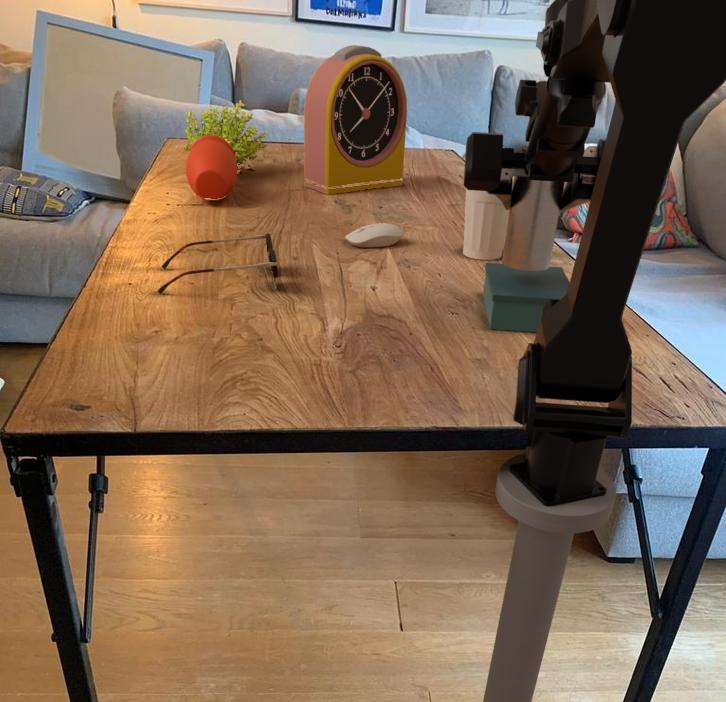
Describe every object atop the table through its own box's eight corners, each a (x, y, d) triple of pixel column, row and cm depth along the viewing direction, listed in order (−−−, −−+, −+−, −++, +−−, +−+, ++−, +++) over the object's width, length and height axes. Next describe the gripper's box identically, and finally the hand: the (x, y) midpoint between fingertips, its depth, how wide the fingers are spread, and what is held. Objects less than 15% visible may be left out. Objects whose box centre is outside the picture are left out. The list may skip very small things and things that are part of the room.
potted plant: (273, 236, 143) (267, 160, 177) (274, 161, 134) (267, 96, 167) (173, 233, 141) (186, 157, 174) (166, 156, 131) (181, 91, 165)
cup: (467, 262, 115) (477, 181, 108) (451, 247, 121) (459, 170, 115) (514, 260, 117) (526, 181, 110) (495, 246, 123) (506, 170, 117)
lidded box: (575, 335, 91) (582, 300, 88) (488, 329, 91) (493, 294, 89) (558, 299, 102) (564, 267, 99) (481, 294, 102) (485, 262, 100)
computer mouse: (340, 239, 123) (341, 221, 121) (394, 236, 126) (395, 218, 124) (353, 249, 118) (354, 230, 116) (408, 245, 121) (410, 227, 120)
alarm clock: (327, 194, 151) (329, 46, 137) (302, 186, 157) (302, 43, 142) (403, 184, 162) (412, 47, 148) (377, 177, 168) (384, 44, 154)
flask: (530, 274, 89) (550, 155, 82) (492, 262, 93) (508, 147, 86) (558, 266, 93) (580, 151, 85) (521, 255, 96) (539, 143, 89)
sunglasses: (280, 295, 99) (276, 258, 96) (158, 304, 96) (151, 267, 94) (272, 264, 110) (269, 230, 107) (163, 272, 108) (157, 238, 105)
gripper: (655, 58, 76) (609, 155, 92) (477, 49, 77) (461, 146, 92) (655, 151, 74) (608, 235, 89) (472, 141, 75) (456, 225, 90)
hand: (533, 208), depth 90 cm, fingers closed on flask, 6 cm apart
